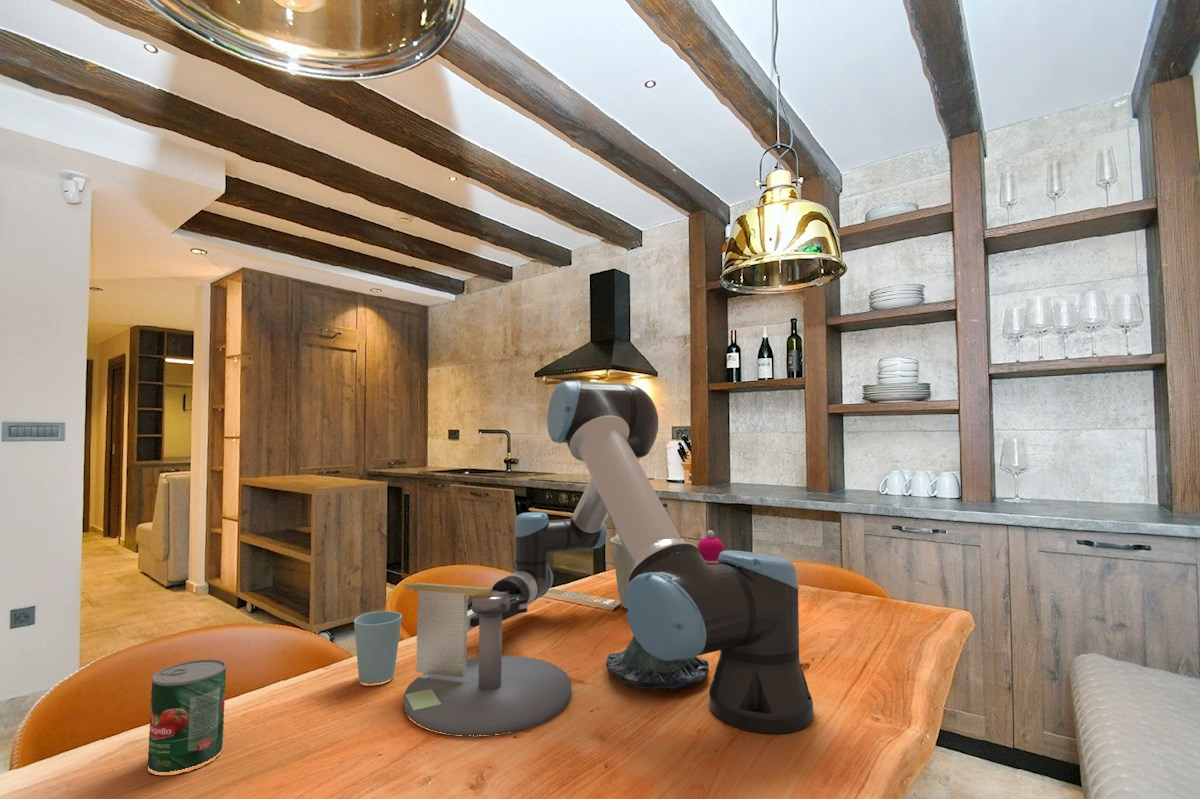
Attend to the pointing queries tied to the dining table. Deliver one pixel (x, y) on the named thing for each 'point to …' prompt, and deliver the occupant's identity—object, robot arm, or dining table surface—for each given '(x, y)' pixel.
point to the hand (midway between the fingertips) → (457, 627)
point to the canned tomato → (186, 714)
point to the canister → (621, 567)
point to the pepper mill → (710, 548)
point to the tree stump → (655, 669)
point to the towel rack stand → (449, 624)
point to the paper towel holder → (489, 691)
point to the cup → (377, 645)
